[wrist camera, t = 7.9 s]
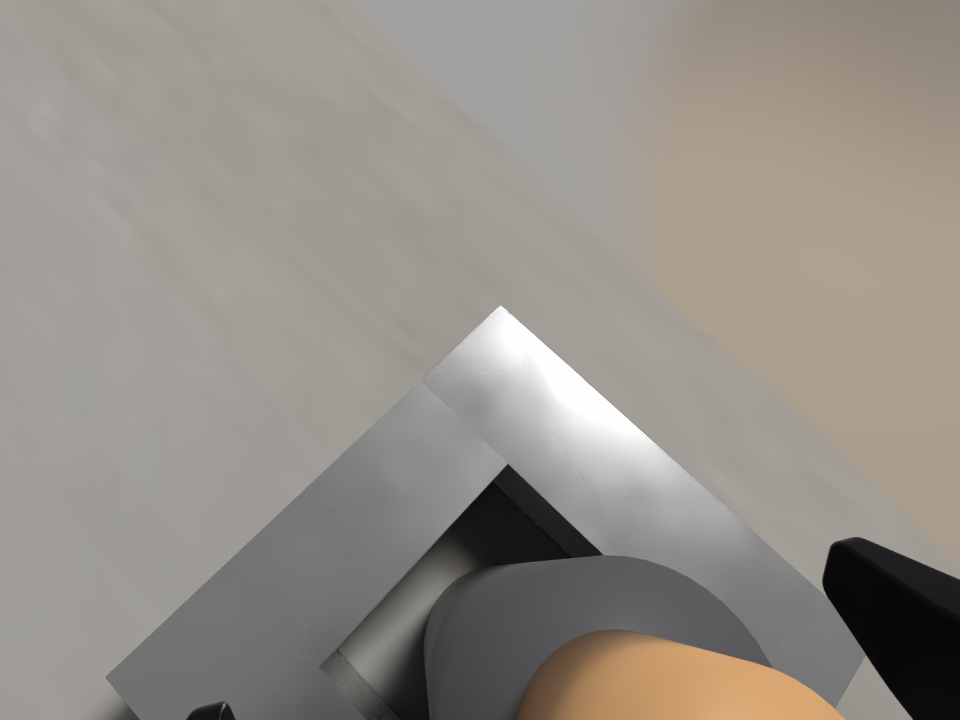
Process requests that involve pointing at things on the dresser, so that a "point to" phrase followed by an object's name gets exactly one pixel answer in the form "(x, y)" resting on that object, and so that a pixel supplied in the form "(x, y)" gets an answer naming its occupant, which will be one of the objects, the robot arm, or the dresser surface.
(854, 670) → the socket plate
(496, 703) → the plug
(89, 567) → the dresser surface
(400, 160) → the dresser surface
